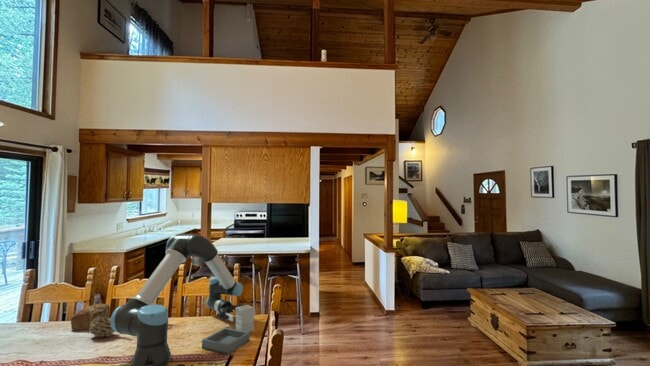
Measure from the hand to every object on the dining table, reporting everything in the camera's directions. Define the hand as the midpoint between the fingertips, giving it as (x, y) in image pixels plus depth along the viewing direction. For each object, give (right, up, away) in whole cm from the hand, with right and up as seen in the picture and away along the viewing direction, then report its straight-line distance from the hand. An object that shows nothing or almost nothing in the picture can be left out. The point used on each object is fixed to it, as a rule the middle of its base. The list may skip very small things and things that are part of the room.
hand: (243, 315), depth 172 cm
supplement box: (+1, -8, -2) cm, 8 cm away
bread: (-90, -8, +7) cm, 91 cm away
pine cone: (-67, -7, -10) cm, 68 cm away
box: (-4, -6, -19) cm, 20 cm away
